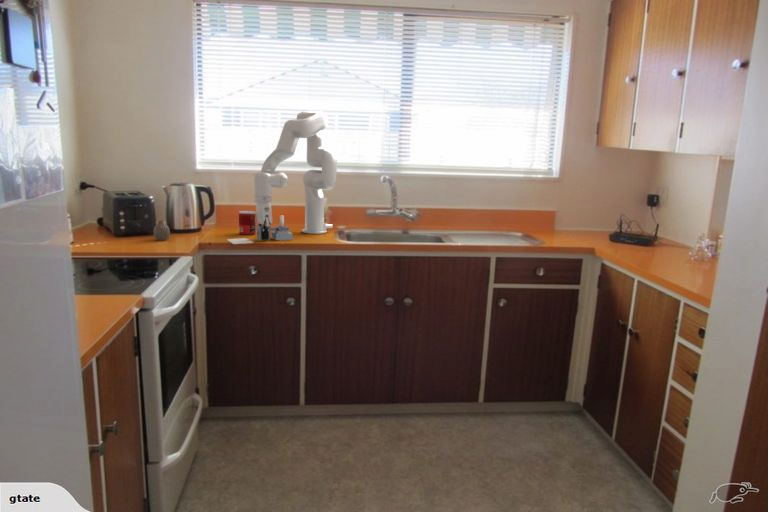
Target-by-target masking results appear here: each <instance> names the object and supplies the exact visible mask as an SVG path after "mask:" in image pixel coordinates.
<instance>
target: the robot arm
mask: <svg viewBox="0 0 768 512" xmlns="http://www.w3.org/2000/svg"><path fill="white" fill-rule="evenodd" d="M328 123H329V118H328V116H327V114H326V113H325V112H323V111H318V110H317V111H313V110H312V111H310V110H309V111H307V110H305V111H301V112H299V113H298V114H297V115H296V119H289V120H286V121H285V123H284V124H283V127H282V131H281V133H280V136H279V140H278V142H277V146H276V147H275V149H274V150H273V151H272V152H271V153H270V154H269V155H268V156H267V157H266V159H265V160H264V161H263V164H262V167H261V170H260V171H259V172H255V174H254V179H253V181H254V185H253V186H254V203H255V205H256V206H255V221H256V223H257V225H262V240H268V239H269V225H272V224H273V212H272V188H275V189H282V188H284V187H286V186H287V184H288V183H289V178H288V175H287V174H286V173H284V172H282V171H276V169H277V167H278V166H279V165H280V164H281V163H282V162H283V161H284V162H285V161H286V160H288V159H289V158H291V157H293V156H294V154H295V151H296V148H297V145H298V142H299V140H300V139H306V162H307V164H308V166H310V167H313V168H321V169H309V170H307V171H305V172H304V174H303V177H302V180H303V181H302V182H303V187H304V199H305V200H304V228H302V230H301V232H302V233H303V234H308V235H309V234H311V235H317V234H321V235H322V234H326V233H327V232H328V231H327V229H332V228H334V226H333V224H332V223H331V224H330V223H325V195H324V193H323V191H330V190H333V189H334V188H335V186H336V183H337V170H338V169H337V164H338V159H337V154H336V153H335V151H334V150H333V149H332V148H328V147H327V148H326V147H325V136H324V133H323V132H322V131H324V130H325V129H326V128H327V126H328ZM264 226H265V227H264Z"/></svg>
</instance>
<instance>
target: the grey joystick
mask: <svg viewBox="0 0 768 512" xmlns="http://www.w3.org/2000/svg"><path fill="white" fill-rule="evenodd" d="M279 226H280V228H282V227H284V226H285V216H284V215H279ZM270 236H271V239H272V238H273V239H272V240H274V239H275V240H274V241H276V240H280V241H289V240H290V241H293V240H294V234H293V233H292V232H291V231H290V230H289V231H270Z"/></svg>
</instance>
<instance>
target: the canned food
mask: <svg viewBox="0 0 768 512" xmlns="http://www.w3.org/2000/svg"><path fill="white" fill-rule="evenodd" d="M256 223H257V221H256V211H253V210H240V211H238V226H239V227H238V233H239V235H241V236H254V235H255V234H257V225H256Z"/></svg>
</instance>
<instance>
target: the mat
mask: <svg viewBox="0 0 768 512" xmlns="http://www.w3.org/2000/svg"><path fill="white" fill-rule="evenodd" d="M226 240H227V241H228V242H229V243H231V244H232V245H244V244H245V245H247V244H254V241H252V240H251V239H249V238H247V237H245V238H244V237H243V238H242V237H241V238H228V239H226ZM247 240H249V241H247Z"/></svg>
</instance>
